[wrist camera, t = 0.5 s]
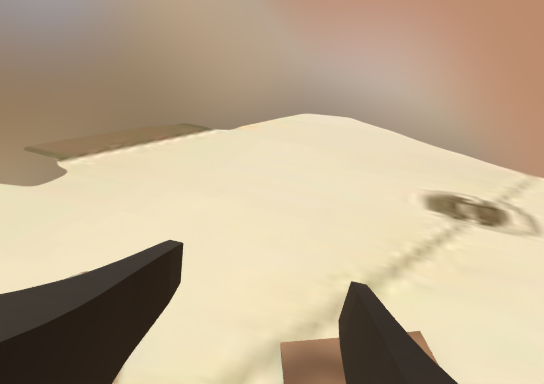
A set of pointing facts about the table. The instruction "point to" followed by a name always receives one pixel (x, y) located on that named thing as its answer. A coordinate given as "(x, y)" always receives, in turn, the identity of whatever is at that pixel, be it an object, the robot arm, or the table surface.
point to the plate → (322, 360)
